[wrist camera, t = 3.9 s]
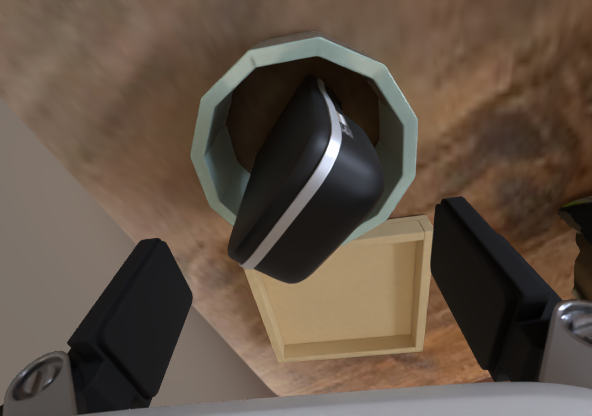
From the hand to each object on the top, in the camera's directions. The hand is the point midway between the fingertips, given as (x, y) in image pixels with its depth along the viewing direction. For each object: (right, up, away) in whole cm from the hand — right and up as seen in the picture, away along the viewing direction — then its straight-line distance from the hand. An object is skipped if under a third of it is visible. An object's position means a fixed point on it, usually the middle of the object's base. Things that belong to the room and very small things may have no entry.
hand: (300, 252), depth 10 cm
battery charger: (0, +7, +10) cm, 12 cm away
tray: (+4, -6, +18) cm, 20 cm away
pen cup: (0, +7, +10) cm, 12 cm away
